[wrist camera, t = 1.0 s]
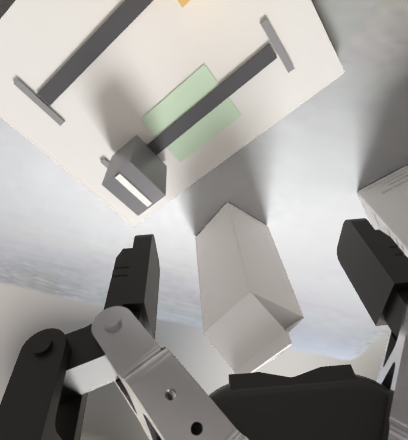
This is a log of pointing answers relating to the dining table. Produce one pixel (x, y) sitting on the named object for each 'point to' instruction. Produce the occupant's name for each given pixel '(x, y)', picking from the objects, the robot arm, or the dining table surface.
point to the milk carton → (244, 291)
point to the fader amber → (183, 2)
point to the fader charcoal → (136, 176)
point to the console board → (156, 80)
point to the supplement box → (389, 206)
